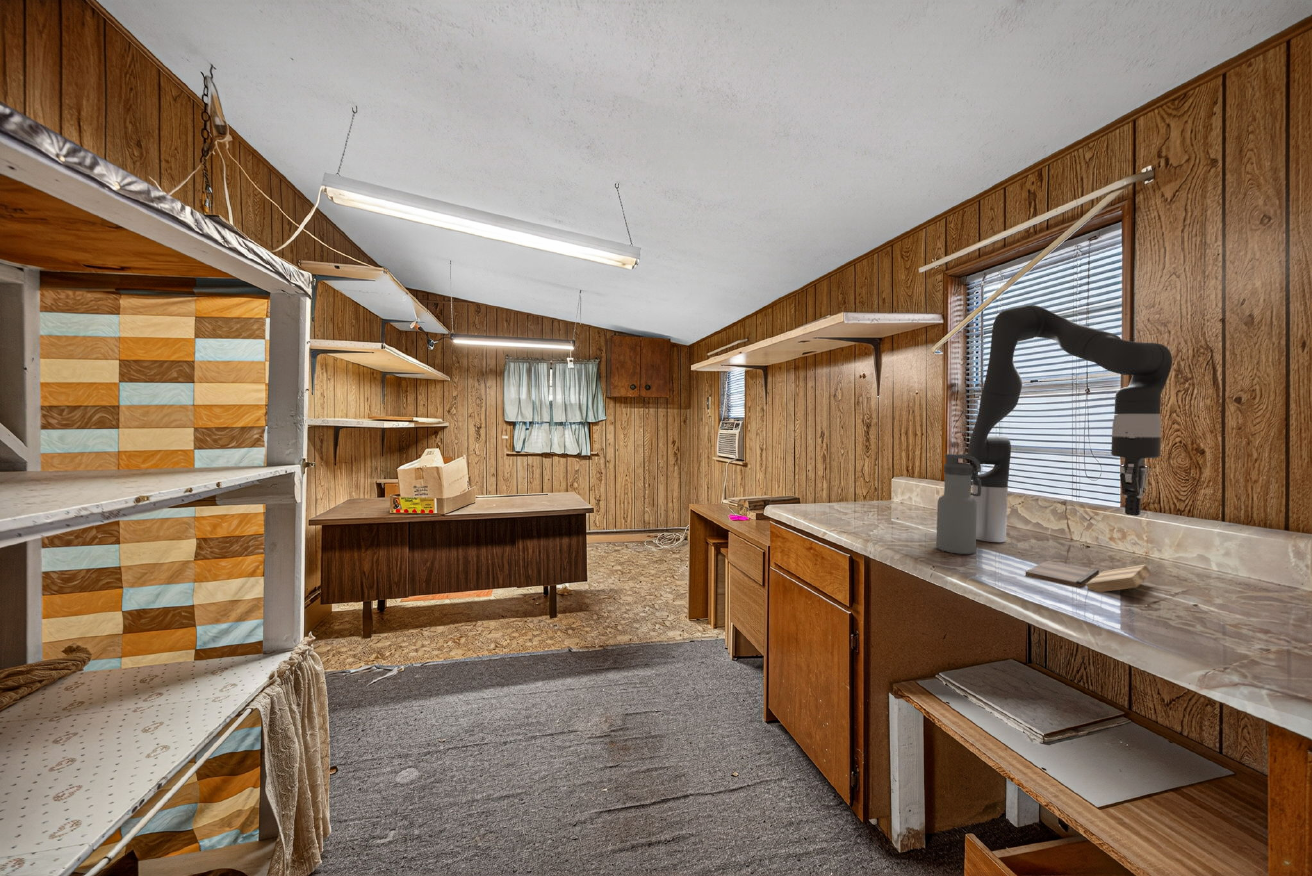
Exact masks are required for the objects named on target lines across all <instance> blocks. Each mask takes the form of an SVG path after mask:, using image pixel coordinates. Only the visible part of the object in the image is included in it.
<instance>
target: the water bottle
mask: <svg viewBox="0 0 1312 876" xmlns="http://www.w3.org/2000/svg"><path fill="white" fill-rule="evenodd" d="M944 458H945V459H946V463H945V464H944V465H943V467H944V468H943V475H944V487H943V488H944V491H943V492H944V494H943V495H941V496H939V498H938V499H937V511H936V542H935V545H936V548H937V549H938V550H940V551H942V552H945V551H946V553H949V552H950V554H954V553H956V555H972V554H974V553H976V549H977V539H976V526H977V502H976V501H975V500H974V499H973V498H972V495H973V496H980V495H981V480H980V479H978V475H979V473H980V472H981V471H982V466H981V465H982V464H980V462H979V461H978V460H977V459H976V458H975V457H973V456H970V455H968V454H963V453H962V454H961V453H959V454H958V453H957V454H956V453H945V457H944ZM961 459H963V460H965V461H967V462H968V463H967V462H965V463H964V462H959V460H961ZM973 480H976V481H977V482H978V492H977V494H974V493H973V491H972V489H971V488H972V481H973Z"/></svg>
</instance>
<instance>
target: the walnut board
mask: <svg viewBox="0 0 1312 876" xmlns="http://www.w3.org/2000/svg"><path fill="white" fill-rule="evenodd" d="M1024 574H1025V576H1026V577H1030V578H1035V579H1040V580H1044V581H1049V582H1053V583H1058V584H1063V585H1066V586H1072V587H1076V588H1080V589H1081V588H1082V587H1084V586H1085V585H1086V583H1087V582H1089V581H1090V580H1092V579H1093V578H1094V577H1096V576H1097V575H1099V574H1100V569H1098V568H1093V569H1092V568H1087V567H1082V566H1078V565H1077V566H1076V565H1071V564H1066V563H1060V562H1055V561H1050V560H1045V561H1043V562H1042V563H1040V564H1037V565H1035V566H1034V567H1032V568H1029V569H1028V570H1026V571H1025V573H1024Z"/></svg>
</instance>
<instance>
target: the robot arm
mask: <svg viewBox="0 0 1312 876" xmlns="http://www.w3.org/2000/svg"><path fill="white" fill-rule="evenodd" d="M1034 338H1042V339H1048V340H1052V341H1055V342H1056V343H1057V344H1058V346H1059V347H1060V348H1061V349H1062V350H1063V351H1064V352H1065V353H1067V354H1069V355H1071V356H1073V357H1076V358H1078V359H1082V360H1086V361H1088V362H1092V363H1095V365H1097V366H1099V367H1101V368H1102V369H1105V370H1107V371H1109V372H1112V373H1115V374H1119V375H1121V376H1131V379H1130V381H1129V384H1128V385H1127V386H1126V387H1125V386H1124V387H1122V388H1119V389H1118V390H1116V393H1115V396H1114V397H1115V398H1114V414H1113V415H1114V417H1113V420H1112V428H1111V430H1112V431H1111V449H1110V450H1111V452H1110V453H1111V456H1113V457H1118V458H1120V457H1121V458H1124V463H1123V465H1122V464H1121V465H1120V466H1119V467H1120V468H1119V473H1120V474H1119V477H1120V483H1121V484H1120V485H1121V490H1122V491H1121V493H1122V495H1123V496H1124V498H1125V502H1124V503H1125V504H1124V514H1125V515H1128V516H1134V517H1135V516H1139V515H1141V509H1142V507H1141V506H1142V498H1143V497H1144V494H1145V492H1146V487H1147V480H1148V476H1149V473H1150V468H1149V467H1150V466H1147V465H1146V459H1158V458H1159V457H1161V447H1162V446H1161V444H1162V441H1161V440H1162V420H1161V419H1162V418H1161V408H1162V407H1161V404H1162V402H1161V401H1162V398H1161V397H1162V396H1161V395H1162V392H1163V391H1164V388H1165V386H1166V384H1167V381H1168V379H1169V376H1170V372H1171V370H1172V366H1173V355H1172V353H1171V351H1170V349H1169V348H1168V347H1167V346H1165V345H1164V344H1161V343H1156V342H1140V341H1139V342H1138V341H1130V340H1125V339H1122V338H1121V337H1120V336H1119V335H1117V334H1115V333H1111V332H1108V331H1104V330H1100V329H1097V328H1093V327H1090V326H1086V325H1083V324H1080V323H1077V322H1074V321H1071V320H1070V319H1067V318H1066V317H1063V316H1061V315H1058V314H1057V313H1054V312H1053V311H1050V310H1048V309H1046V308H1044V307H1042V306H1039V305H1035V304H1026V305H1022V306H1018V307H1013V308H1009V309H1005V310H1002V311H1001V312H999V313H998V314H997V315H996V317H995V319H994V321H993V325H992V331H991V340H990V350H989V351H990V352H989V359H988V364H987V368H986V375H985V380H984V382H983V386H982V391H981V394H980V401H979V407H978V412H977V416H976V421H975V424H974V428H973V429H972V434H971V435H970V439H969V442H968V447H967V455H970V456H973V457H975V458H976V459H977V460H978V461H979V462H980V465H993V468H992V469H990V470H988V471H987V472H984V473H980V474H978V479H980V480H981V495H980V496H973V495H971V497H972V498H973V499H974V500H975V501H976V502H977V526H976V541H982V542H990V543H1005V542H1007V525H1008V523H1007V519H1008V514H1007V513H1008V491H1009V490H1008V489H1009V488H1008V487H1009V486H1008V485H1009V476H1010V464H1011V457H1012V456H1011V455H1012V445H1011V444H1012V443H1011V440H1010V439H1009V437H1008V436H1004V435H990V433H991V431H992V430H993V428H994V427H995V426H996V425H997V424H998V423H1000V422H1001V421H1002V420H1003V419H1005V417H1007V416H1008V415H1009V414H1010V413H1011V412H1013V410H1014V409H1015V408H1016V407H1017V405H1018V403H1019V399H1020V395H1021V391H1022V389H1023V388H1022V387H1023V381H1022V377H1021V375H1020V373H1019V371H1018V370H1017V367H1016V366H1015V363H1014V356H1015V351H1016V350H1015V349H1016V347H1017V345H1018V343H1019V342H1023V341H1027V340H1032V339H1034ZM977 492H978V482H977V481H976V480H973V479H972V493H974V494H977Z"/></svg>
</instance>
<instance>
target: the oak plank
mask: <svg viewBox="0 0 1312 876" xmlns="http://www.w3.org/2000/svg"><path fill="white" fill-rule="evenodd" d="M1150 575H1151V571H1150V569H1149V567H1148V565H1147V564H1141V565H1134V566H1128V567H1122V568H1121V567H1120V568H1115V569H1109V570H1102V572H1099V575H1097V576H1096V577H1094V578H1093V579H1092V580H1090V581H1089V582H1087V583H1086V584H1085V585H1086V587H1087V590H1090V591H1095V592H1100V593H1102V592H1103V593H1104V592H1109V591H1110V592H1112V591H1118V590H1119V591H1120V590H1126V589H1134V588H1135V589H1136V588H1138V587H1139V586H1140V585H1141V584H1142V583H1143V582H1144V581H1145V580H1146V579H1147V578H1148V577H1149V576H1150Z"/></svg>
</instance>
